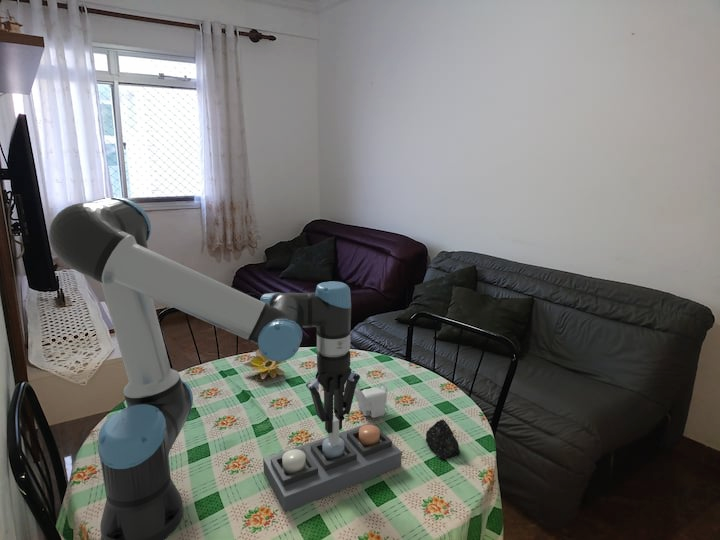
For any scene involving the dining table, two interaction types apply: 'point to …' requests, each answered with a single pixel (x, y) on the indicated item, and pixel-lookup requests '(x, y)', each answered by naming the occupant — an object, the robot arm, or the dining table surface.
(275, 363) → the decorative flower
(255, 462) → the dining table surface
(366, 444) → the terracotta button
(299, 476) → the console
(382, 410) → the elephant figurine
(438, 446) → the rock
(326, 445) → the slate button
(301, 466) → the ivory button
